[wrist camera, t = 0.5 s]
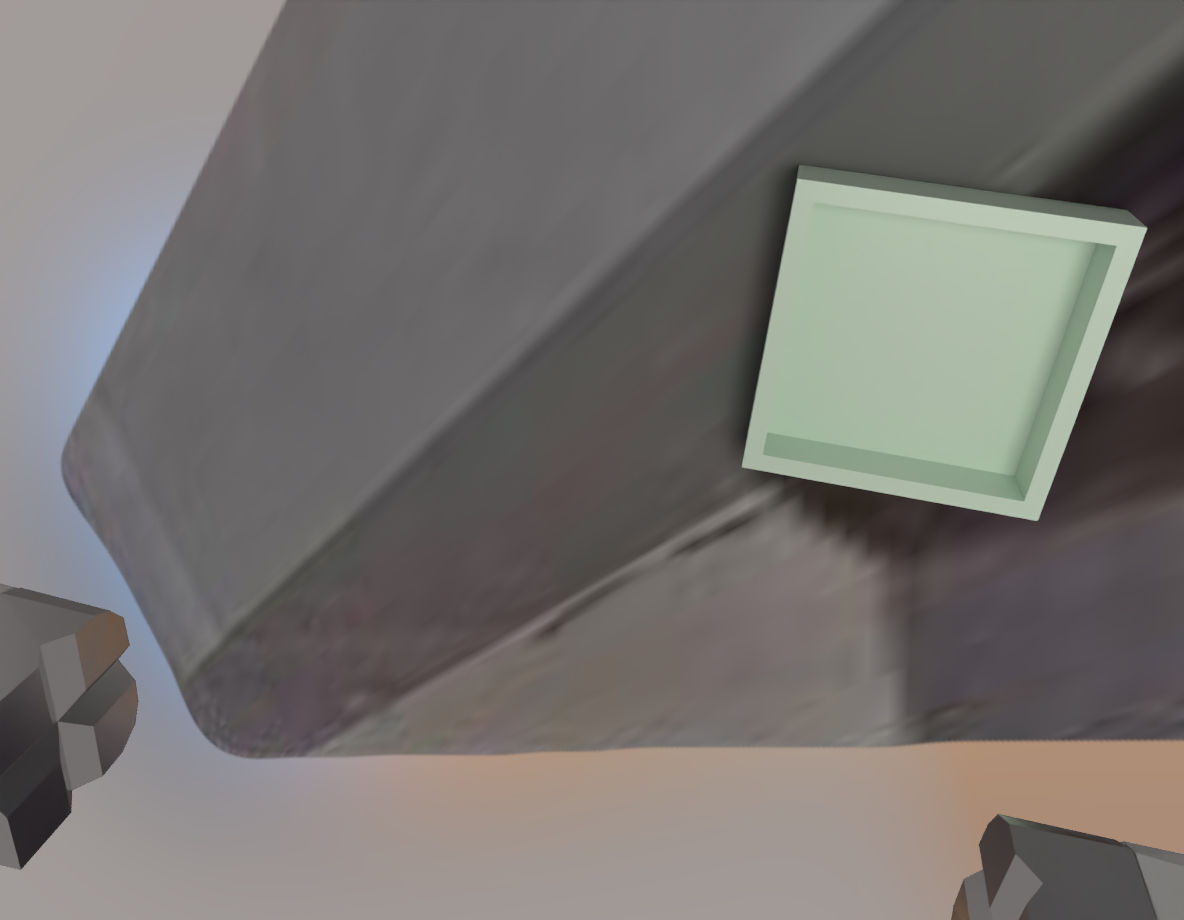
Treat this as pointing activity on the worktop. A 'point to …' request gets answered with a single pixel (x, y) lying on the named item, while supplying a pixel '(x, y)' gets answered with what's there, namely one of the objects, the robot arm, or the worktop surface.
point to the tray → (934, 337)
